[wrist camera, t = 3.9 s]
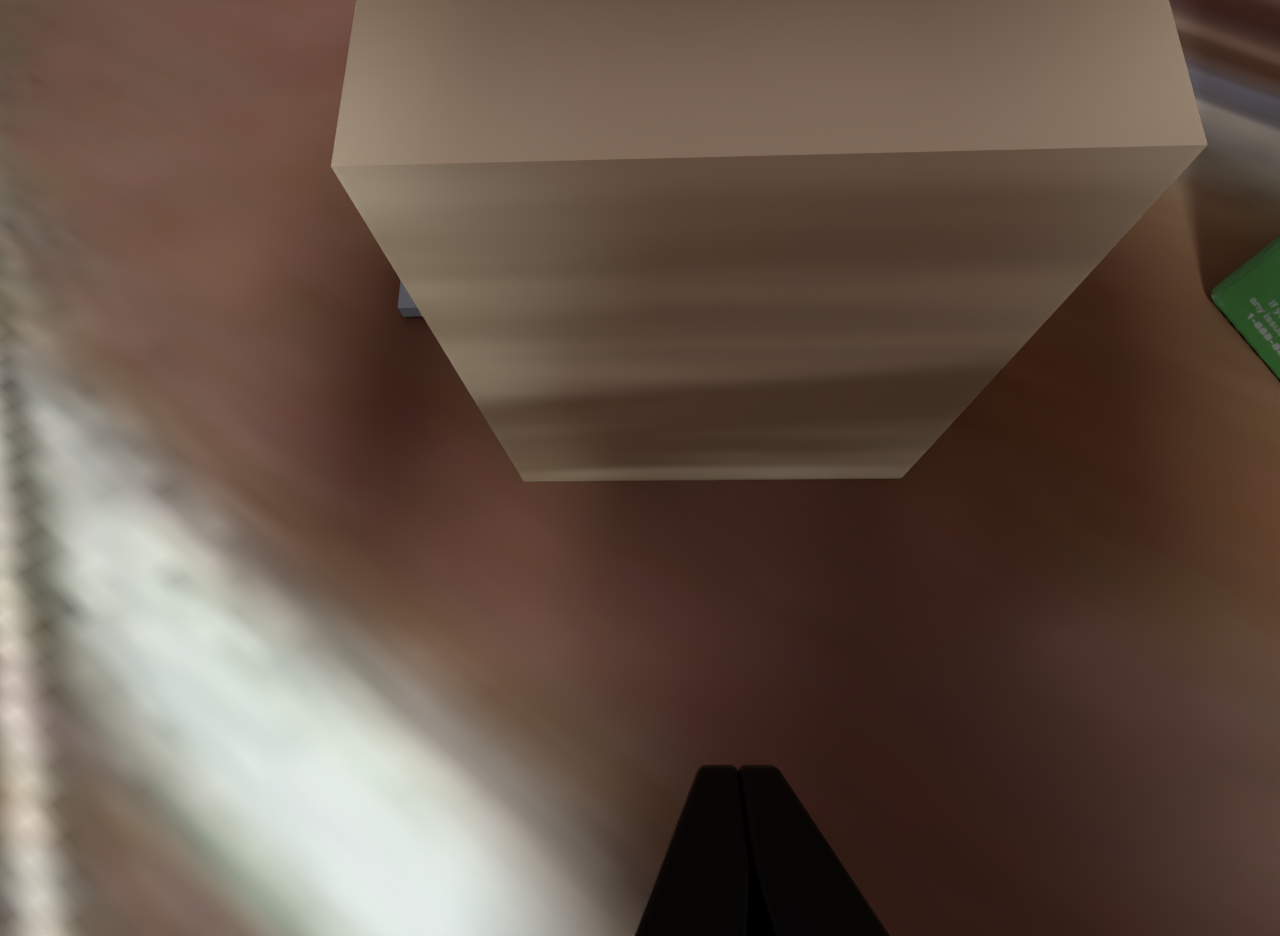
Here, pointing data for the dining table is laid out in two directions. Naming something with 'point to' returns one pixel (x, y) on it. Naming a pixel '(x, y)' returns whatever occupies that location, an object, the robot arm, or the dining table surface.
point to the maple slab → (750, 210)
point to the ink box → (1255, 302)
